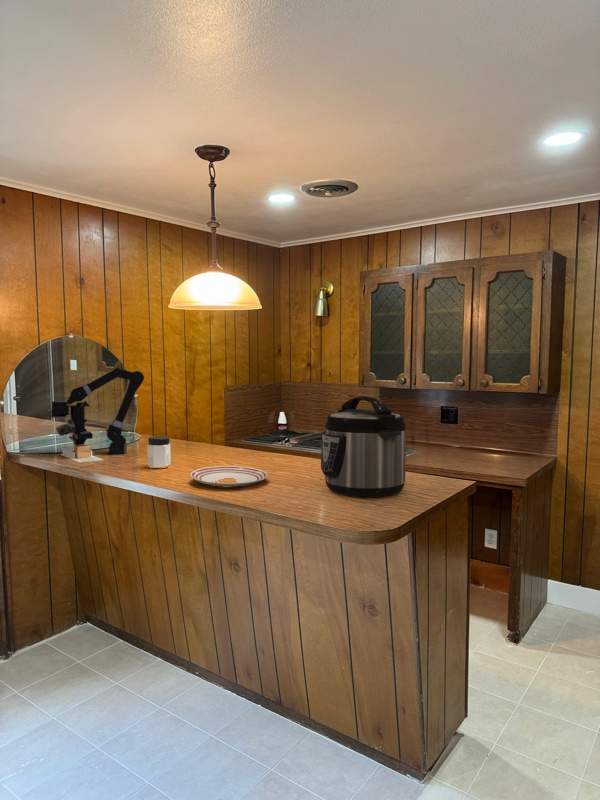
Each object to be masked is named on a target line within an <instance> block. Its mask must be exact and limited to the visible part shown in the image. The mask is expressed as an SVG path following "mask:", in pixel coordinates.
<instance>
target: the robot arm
mask: <svg viewBox="0 0 600 800" xmlns="http://www.w3.org/2000/svg"><path fill="white" fill-rule="evenodd" d="M117 378H119V379H125V380H127V384H126V389H125V392H124V395H123V397H122V399H121V401H120V405H119V407H118V410H117V412H116V414H115V416H114V418H113V420H112V421H111V420H108V422H107V426H106V428H105V435H106V437H107V438H108V439H109V440H110V441H111V442H110V443H109V446H108V454H109V455H113V456H119V455H121V456H122V455H126V454H127V450H128V449H127V444H128V443H127V439H126V437H125V436H124V435H123V434H122V432H123V427H124V425H123V424H124V421H125V419H126V416H127V414H128V412H129V409H130V406H131V404H132V402H133V398H134V396H135V394H136V393H137V390H138V389H139V388H140V387H141V385H142V383H143V382H144V379H145V376H144V374H143V372H141V371H138V370H133V371H129V370H125V369H121V368H118V367H114V368H113V369H112V370H110V371H108V372H106V373H104V374H103V375H101V376H99V377H97V378H95V379H93V380H92V381H90V382H87V383H85V384H82V385H81V384H80V385H78V386H76V387H73V388H72V389H71V390H70V395H69V396H68V398H67V399H66V400H65V401H55V400H52V401H51V418H67V416H69V413H70V418H69V419H68V420H67V421H68V422H67V423H64V424H61V425H59V426H56V427H55V429H56V433H57V434H58V436H60V437H61V436H68V435H70V436H68V438H69V439H70V440H72V442H73V446H74V445H83V444H85V442H86V441H87V440H90V439H93V437H94V436H93V432H91V431H89V430H87V428H86V423H87V419H86V407H90V404H89V403H88V402H87V401H86V400H85V399H86V398H87V397H88V396H89V395H90V394H91V393H93V391H96V390H97V389H99V388H101V387H102V386H104V385H106V384H108V383H109V382H112V381H113V380H115V379H117ZM83 400H84V401H83ZM75 402H76V403H75ZM74 403H75V404H74ZM69 409H70V411H69Z"/></svg>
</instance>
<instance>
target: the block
mask: <svg viewBox="0 0 600 800" xmlns="http://www.w3.org/2000/svg"><path fill="white" fill-rule="evenodd" d="M90 450H91V446H90V445H89V444H85V443H84V444H83V445H74V444H73V452H75V458H77V459H80V458H90Z"/></svg>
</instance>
